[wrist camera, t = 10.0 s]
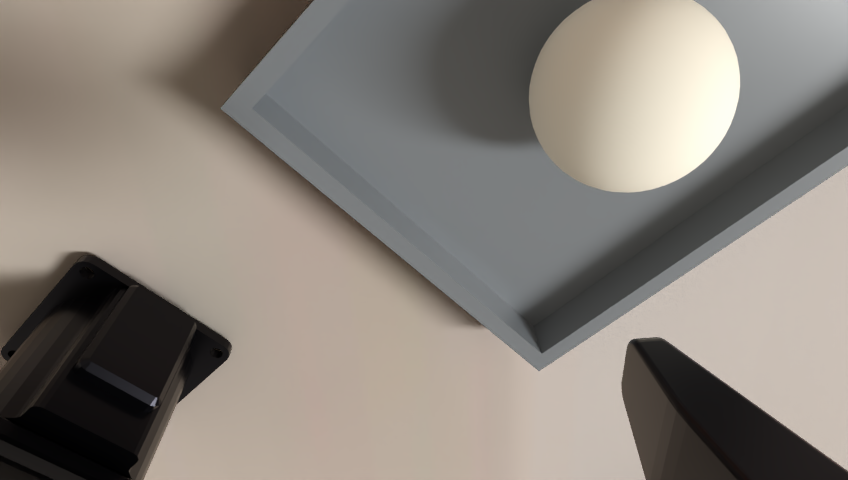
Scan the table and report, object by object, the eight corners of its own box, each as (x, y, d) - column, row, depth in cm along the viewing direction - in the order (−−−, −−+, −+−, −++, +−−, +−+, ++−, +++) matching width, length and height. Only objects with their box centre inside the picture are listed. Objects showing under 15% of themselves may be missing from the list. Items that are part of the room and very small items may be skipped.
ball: (576, 178, 19) (637, 263, 14) (476, 69, 16) (512, 131, 12) (711, 67, 17) (825, 127, 13) (619, -69, 15) (717, -53, 11)
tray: (526, 326, 23) (539, 371, 21) (242, 81, 18) (220, 108, 15) (931, 39, 18) (1005, 60, 15) (703, -451, 12) (767, -523, 10)
